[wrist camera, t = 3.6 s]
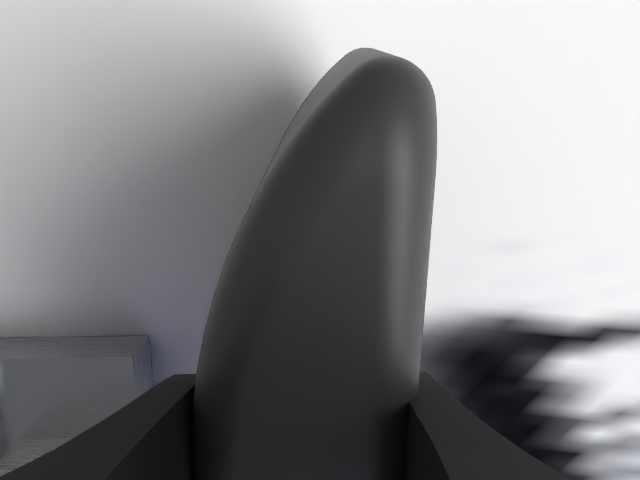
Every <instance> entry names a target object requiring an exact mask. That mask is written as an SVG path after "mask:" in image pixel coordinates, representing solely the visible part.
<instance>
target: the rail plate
mask: <svg viewBox="0 0 640 480" xmlns="http://www.w3.org/2000/svg"><path fill="white" fill-rule="evenodd" d="M153 387H154V385H153V375H152V365H151V355H150V345H149V336H82V337H7V338H0V476H2V475H4V474H6V473H8V472H11V471H13V470H15V469H17V468H19V467H21V466H23V465H25V464H27V463H29V462H31V461H33V460H35V459H37V458H39V457H41V456H43V455H45V454H46V453H48V452H50V451H52V450H54V449H56V448H57V447H59V446H61V445H63V444H64V443H66V442H68V441H69V440H71V439H73V438H74V437H76V436H78V435H79V434H81V433H83V432H84V431H86V430H88V429H89V428H91V427H93V426H94V425H96V424H98V423H99V422H101V421H103V420H104V419H106V418H107V417H109V416H110V415H112V414H113V413H115V412H116V411H118V410H119V409H121V408H122V407H124V406H126V405H127V404H129V403H130V402H132V401H133V400H135V399H136V398H138V397H139V396H141V395H142V394H144V393H145V392H147V391H148V390H150V389H151V388H153Z"/></svg>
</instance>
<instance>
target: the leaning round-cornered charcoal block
mask: <svg viewBox="0 0 640 480" xmlns="http://www.w3.org/2000/svg"><path fill="white" fill-rule="evenodd" d="M436 159H437V115H436V102H435V95H434V91H433V88H432V86H431V83H430V81H429V80H428V78H427V77H426V75H425V74H424V73H423V72H422V71H421V70H420V69H419V68H418V67H417V66H416V65H414V64H413V63H411V62H410V61H408V60H405V59H403V58H400V57H397V56H394V55H391V54H388V53H385V52H382V51H379V50H376V49H372V48H359V49H356V50H353V51H351V52H349V53H348V54H346V55H345V56H344V57H343V58H342V59H340V60H339V61H338V62H337V63H336V64H335V65H334V66H333V67H332V68H331V69H330V70H329V71H328V72H327V73H326V74H325V75H324V76H323V78H322V79H321V80H320V81H319V82H318V84H317V85H316V86H315V87H314V89H313V90H312V91H311V93H310V94H309V95H308V97H307V98H306V100H305V101H304V102H303V104H302V105H301V107H300V108H299V110H298V112H297V113H296V115H295V117H294V118H293V120H292V122H291V123H290V125H289V127H288V129H287V130H286V132H285V134H284V136H283V138H282V140H281V142H280V144H279V146H278V148H277V150H276V153H275V155H274V157H273V159H272V161H271V163H270V165H269V167H268V169H267V171H266V173H265V175H264V177H263V180H262V182H261V184H260V186H259V188H258V190H257V192H256V194H255V196H254V198H253V200H252V202H251V205H250V207H249V209H248V211H247V213H246V215H245V217H244V219H243V221H242V223H241V225H240V227H239V230H238V232H237V234H236V237H235V239H234V241H233V244H232V246H231V249H230V251H229V253H228V256H227V258H226V261H225V263H224V266H223V269H222V272H221V275H220V278H219V281H218V284H217V287H216V290H215V293H214V296H213V300H212V303H211V307H210V311H209V315H208V319H207V322H206V326H205V330H204V335H203V340H202V346H201V351H200V356H199V361H198V367H197V374H196V382H195V391H194V404H193V427H192V457H193V470H194V480H405V470H406V451H407V432H408V412H409V401H411V400H413V399H414V398H415V397H416V396H417V394H418V386H419V374H420V361H421V349H422V336H423V324H424V312H425V299H426V287H427V275H428V262H429V250H430V237H431V225H432V213H433V200H434V188H435V176H436Z"/></svg>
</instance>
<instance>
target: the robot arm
mask: <svg viewBox="0 0 640 480" xmlns="http://www.w3.org/2000/svg"><path fill="white" fill-rule="evenodd" d="M195 382H196V374H178V375H173V376H171V377H169V378H167V379H165V380H164V381H162V382H160V383H159V384H157V385H156V386H154V387H153V388H151V389H150V390H148V391H147V392H145V393H144V394H142V395H141V396H139V397H138V398H136V399H135V400H133V401H132V402H130V403H129V404H127V405H126V406H124V407H122V408H121V409H119V410H118V411H116V412H115V413H113V414H112V415H110V416H109V417H107V418H106V419H104V420H103V421H101V422H99V423H98V424H96V425H94V426H93V427H91V428H89V429H88V430H86V431H84V432H83V433H81V434H79V435H78V436H76V437H74V438H73V439H71V440H69V441H68V442H66V443H64V444H63V445H61V446H59V447H57V448H56V449H54V450H52V451H50V452H48V453H46V454H45V455H43V456H41V457H39V458H37V459H35V460H33V461H31V462H29V463H27V464H25V465H23V466H21V467H19V468H17V469H15V470H13V471H11V472H8V473H6V474H4V475H2V476H0V480H194V470H193V457H192V427H193V404H194V391H195ZM405 480H572V479H570V478H569V477H567V476H565V475H563V474H562V473H560V472H558V471H556V470H555V469H553V468H551V467H550V466H548V465H546V464H544V463H543V462H541V461H539V460H538V459H536V458H534V457H533V456H531V455H530V454H528V453H526V452H525V451H523V450H522V449H520V448H519V447H517V446H516V445H515V444H513V443H512V442H510V441H509V440H508V439H506V438H505V437H503V436H502V435H500V434H499V433H498V432H496V431H495V430H494V429H492V428H491V427H490V426H488V425H487V424H486V423H484V422H483V421H482V420H481V419H479V418H478V417H477V416H476V415H474V414H473V413H472V412H471V411H469V410H468V409H467V408H466V407H465V406H464V405H462V404H461V403H460V402H459V401H458V400H457V399H455V398H454V397H453V396H452V395H451V394H450V393H449V392H447V391H446V390H445V389H444V388H443V387H442V386H441V385H440V384H439V383H437V382H436V381H435V380H434V379H433V378H432V377H431V376H430V375H428V374H427V373H426V372H420V374H419V386H418V394H417V396H416V397H415V398H414V399H413V400H411V401H409V412H408V432H407V451H406V470H405Z"/></svg>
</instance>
